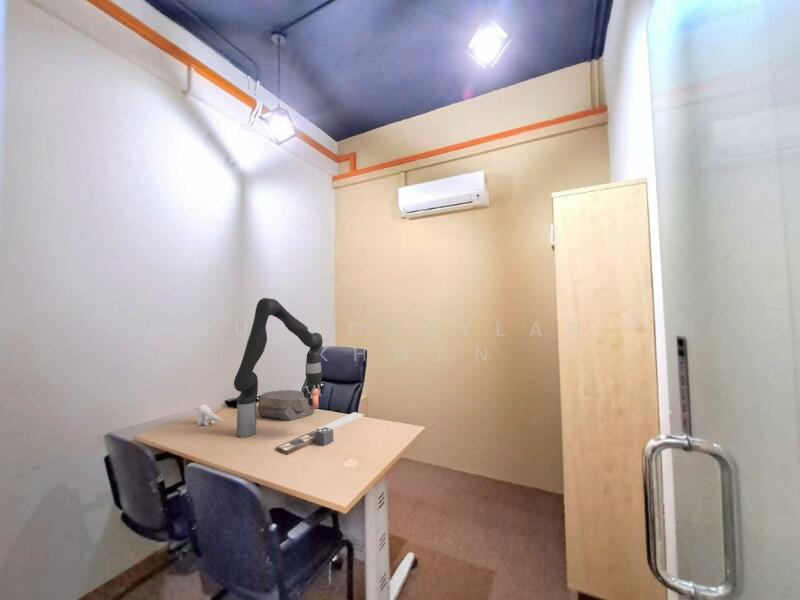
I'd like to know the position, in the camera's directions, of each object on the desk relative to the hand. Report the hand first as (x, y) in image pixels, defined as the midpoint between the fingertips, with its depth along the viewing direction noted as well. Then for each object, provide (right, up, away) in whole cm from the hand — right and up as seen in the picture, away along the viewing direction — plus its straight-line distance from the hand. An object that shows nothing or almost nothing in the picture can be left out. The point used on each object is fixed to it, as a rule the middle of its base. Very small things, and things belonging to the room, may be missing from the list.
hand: (314, 404), depth 158 cm
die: (+7, -17, -7) cm, 19 cm away
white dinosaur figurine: (-69, -20, +21) cm, 75 cm away
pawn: (0, -2, 0) cm, 2 cm away
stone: (-28, -19, +37) cm, 50 cm away
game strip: (-4, -17, -7) cm, 19 cm away
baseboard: (+10, -18, +20) cm, 29 cm away
